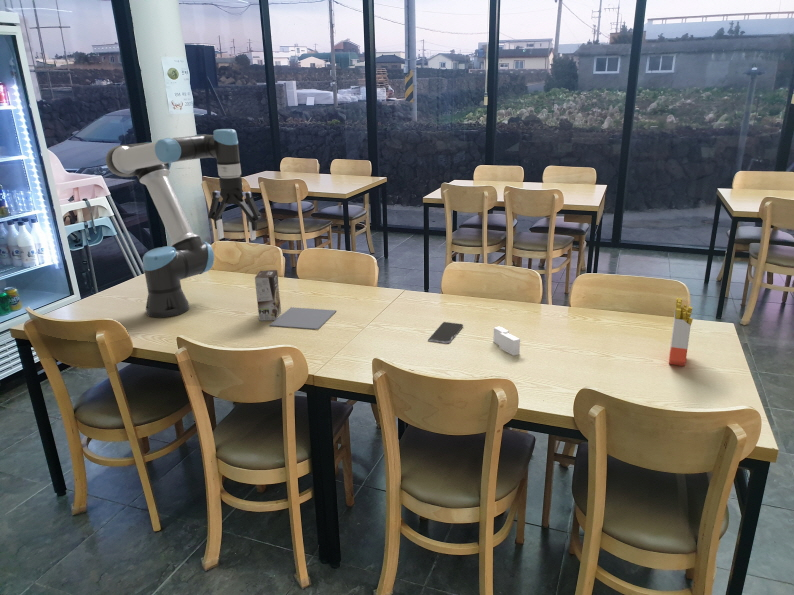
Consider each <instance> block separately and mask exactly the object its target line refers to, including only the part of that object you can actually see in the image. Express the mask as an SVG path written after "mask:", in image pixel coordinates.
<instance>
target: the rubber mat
mask: <svg viewBox="0 0 794 595" xmlns="http://www.w3.org/2000/svg"><path fill="white" fill-rule="evenodd" d="M336 313H337V309H336V310H335V309H324V308H323V309H322V308H320V309H319V308H308V307H307V308H306V307H292V306H291V307H289V308H288V309H287V310H286V311H284V312H283V313H282V314H281V315H279V316H278V318H277V319H276V320H273V322H272V321H271V323H270V324H269V327H276V326H279V327H280V328H289V327H292V328H293V329H302V328H304V330H306V329H307V330H315V329H318V330H319V329H321V327H323V325H325V323H326V322H327V321H329V320H330V319H331V317H333V315H335V314H336ZM292 328H291V329H292Z"/></svg>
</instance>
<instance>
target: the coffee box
mask: <svg viewBox="0 0 794 595" xmlns="http://www.w3.org/2000/svg"><path fill="white" fill-rule="evenodd" d="M254 282H255V292H256V301H257V302H256V303H257V312H258V320H259V321H275V320H276V319H277V318H279V317H280V314H281V313H282V309H281V308H282V306H281V305H282V304H281V296H280V288H279V286H280V285H279V275H278V270H277V269H270V270H269V269H268V270H260V271H259V272H258V273H257V274H256V276H255V277H254Z"/></svg>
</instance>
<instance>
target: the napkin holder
mask: <svg viewBox="0 0 794 595" xmlns="http://www.w3.org/2000/svg"><path fill="white" fill-rule="evenodd" d="M509 332H510V331H509V330H508V329H506V328H504V327H502V326H499V325H498V326H496V327H493V341H492V342H493V343H495V344H496V345H498V347H499V349H500V350H503V351H504V352H506V353H508V354H510V355H512V357H513V356H516V355H517V356H518V355H520V350H521V348H520V347H521V339H520V338H519V337H517V336H515V335H513V334H511V333H509Z"/></svg>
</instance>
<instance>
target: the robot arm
mask: <svg viewBox="0 0 794 595" xmlns="http://www.w3.org/2000/svg"><path fill="white" fill-rule="evenodd" d="M207 158H213V159H216V165H217V166H216V167H217V173H218V176H219V178H218V181H219V182H218V183H219V184H218V185H219V189H220V191H219V190H214V191H212V192H211V195H212V196H211V197H212V199H211V202H210V203H211V204H210V208H209V212H208V217H207V218H208V219H211V220H213V223H214V229H215V230H216V231H217V232H216V233H217V240H222V239H224V238H225V234H224V226H223V225H224V224H223V219H222V218H221V217H222V215H223V213H224V211H225V209H226V208H227V206H228V205H237V207H239V208H240V209H241V210H242V211H243V213H244V214H245V215H246V217H247V218H248V219H249V221H248V229H249V238H250V241H255V240H256V239H257V235H256V234H257V232H256V231H258V220H261V219H262V214H261V213H260V211H259V208H258V206H257V204H256V202H255V200H254V198H253V192H252V191H251V190H249V191H244V190H243V186H244V185H243V177H242V168H241V161H240V149H239V140H238V134H237V130H235V129H232V128H220V129H215V130H213V134H204V133H203V134H202V133H200V134H195V135H191V136H183V137H166V138H162V139H158V140H157V141H154V142H153V141H152V142H150V141H145V142H140V143H130V144H120V145H116V146H114V147H112V148H111V149H109V150H108V152H107V153H106V156H105V164H106V167H107V168H108V170H109V171H110V172H111V173H112V174H114V175H116V176H119V177H121V178H130V177H137V179H138V181H139V183H140V184H142V185H145V186H146V188H147V190H148V192H149V195H150V197H151V199H152V202H153V204H154V206H155V208H156V210H157V212H158V215H159V216H160V218H161V222H162V224H163V226H164V228H165V230H166V231H167V234H168V236H169V239H170V240H171V244H170V245H167V246H162V247H159V246H158V247H155V248H153V249H150V250H148V251H146V252H145V253H144V254H143V256H142V263H143V264H142V268H143V270H144V275H145V282H146V287H147V292H148V293H147V294H148V295H147V300H146V304H145V312H146V315H147V316H148V315H149V317H150V316H152V317H151V318H157V317H162V318H171V317H175V316H180V315H182V314H184V313H186V312H187V311H189V310H190V304H189V301H188V299H187V298H186V295H185V292H184V290H183V289H182V285H181V280H184V279H187V278H191V277H194V276H198V275H202V274H204V273H206V272H209V271H210V270H211V269H212V268H213V266H214V261H215V253H214V250H213V247H212V246H211V244H210V243H209V242H207V241H204V240H203V241H202V238H201V236H200V235H199V234H195V233H194V231H193V228H192V227H191V224H190V222H189V221H188V218H187V216H186V214H185V212H184V209H183V208H182V205H181V203H180V200H179V197H177V195H176V192H175V190H174V187H173V184H172V183H171V181H170V179H169V175H170V173H171V172H170V169H171V166H172V163H176V162H183V161H191V160H192V161H193V160H198V159H207ZM220 197H221V198H222V200H221V202H220V204H219V201H220ZM243 197H244V198H245V200H244V198H243ZM246 202H247V203H246ZM247 204H248V205H247ZM218 205H219V207H218ZM181 313H182V314H181ZM170 316H171V317H170Z"/></svg>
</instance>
